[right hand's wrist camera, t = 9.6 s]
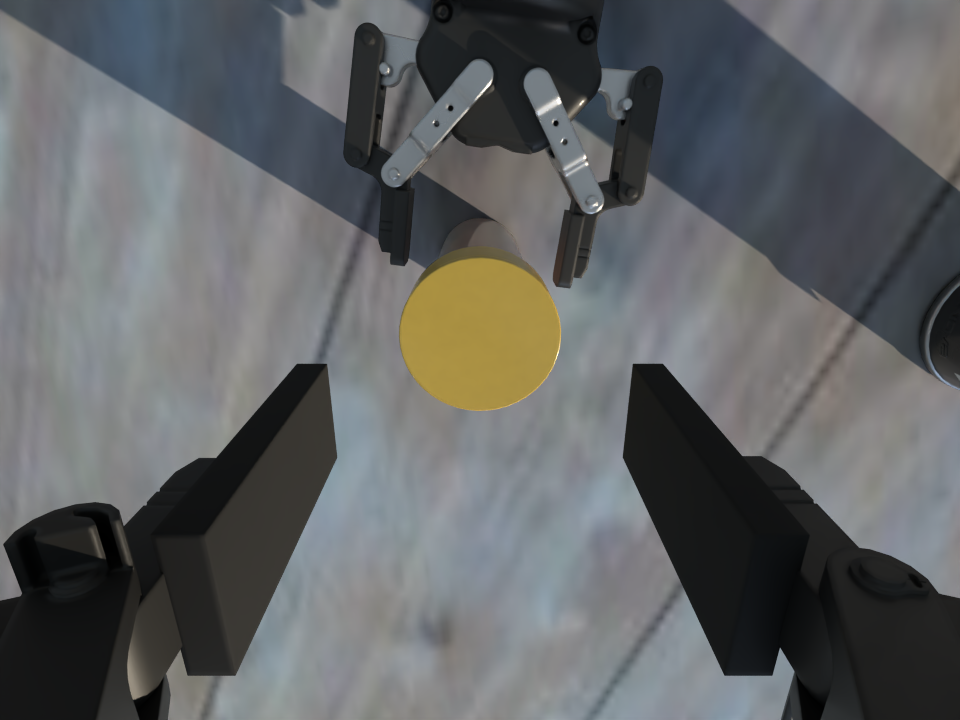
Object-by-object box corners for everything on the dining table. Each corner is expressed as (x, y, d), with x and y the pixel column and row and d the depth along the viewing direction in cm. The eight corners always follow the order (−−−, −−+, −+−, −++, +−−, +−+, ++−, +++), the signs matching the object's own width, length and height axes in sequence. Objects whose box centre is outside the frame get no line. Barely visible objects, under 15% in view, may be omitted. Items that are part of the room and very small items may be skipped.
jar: (427, 241, 34) (388, 309, 20) (495, 203, 33) (508, 243, 19) (465, 308, 36) (455, 415, 21) (531, 272, 35) (568, 358, 20)
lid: (379, 290, 21) (367, 307, 19) (510, 218, 20) (514, 226, 18) (453, 407, 23) (450, 435, 21) (576, 346, 22) (587, 368, 20)
